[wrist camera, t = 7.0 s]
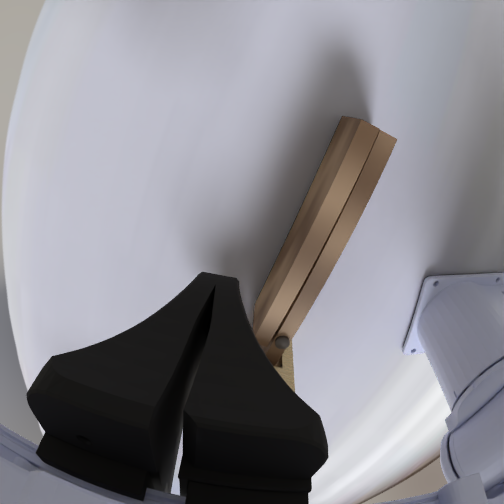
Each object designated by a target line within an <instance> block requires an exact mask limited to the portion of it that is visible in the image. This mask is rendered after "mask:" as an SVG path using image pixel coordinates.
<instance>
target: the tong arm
mask: <svg viewBox="0 0 504 504" xmlns="http://www.w3.org/2000/svg"><path fill="white" fill-rule="evenodd" d="M379 130H380V129H379V128H377V127H375V126H373V125H371V124H369V123H367V122H365V121H364V120H362V119H356V118H351V117H345V116H342V118H341V120H340V122H339V124H338V127H337V129H336V131H335V134H334V136H333V138H332V140H331V142H330V145H329V147H328V149H327V151H326V154H325V156H324V158H323V160H322V163H321V165H320V167H319V169H318V171H317V174H316V176H315V178H314V180H313V182H312V185H311V187H310V189H309V191H308V193H307V195H306V198H305V200H304V202H303V204H302V206H301V208H300V211H299V213H298V215H297V217H296V219H295V221H294V223H293V226H292V228H291V230H290V232H289V234H288V236H287V238H286V240H285V243H284V245H283V247H282V249H281V251H280V253H279V255H278V257H277V259H276V261H275V264H274V266H273V268H272V270H271V272H270V274H269V276H268V278H267V280H266V282H265V284H264V286H263V288H262V291H261V293H260V295H259V297H258V299H257V301H256V303H255V307H254V320H253V332H254V335H255V337H256V339H257V340H258V342H259V344H260V345H262V346H265V347H267V346H268V344H269V342H270V341H271V339H272V337H273V336H274V334H275V332H276V330H277V329H278V327H279V325H280V324H281V322H282V320H283V318H284V317H285V315H286V313H287V311H288V310H289V308H290V306H291V304H292V302H293V301H294V299H295V297H296V295H297V294H298V292H299V290H300V288H301V286H302V285H303V283H304V281H305V279H306V277H307V275H308V274H309V272H310V270H311V268H312V266H313V264H314V262H315V261H316V259H317V257H318V255H319V253H320V251H321V249H322V247H323V245H324V244H325V242H326V240H327V238H328V236H329V234H330V232H331V230H332V228H333V226H334V224H335V222H336V220H337V218H338V216H339V214H340V212H341V210H342V208H343V206H344V204H345V202H346V200H347V198H348V196H349V194H350V192H351V190H352V188H353V186H354V184H355V182H356V180H357V178H358V176H359V174H360V171H361V169H362V167H363V165H364V163H365V161H366V159H367V157H368V154H369V152H370V150H371V148H372V146H373V144H374V141H375V139H376V137H377V135H378V132H379Z"/></svg>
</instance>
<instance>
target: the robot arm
mask: <svg viewBox="0 0 504 504" xmlns="http://www.w3.org/2000/svg"><path fill="white" fill-rule="evenodd" d="M435 281H437V282H436V283H435V284H434V282H435ZM412 349H413V350H412ZM402 352H403V354H404V355H412V354H420V353H426V355H427V358H428V360H429V362H430V364H431V366H432V368H433V370H434V373H435V375H436V377H437V379H438V381H439V384H440V386H441V388H442V391H443V393H444V395H445V398H446V400H447V402H448V405H449V407H450V410H451V412H452V413H451V414H450V415H449V416H448V417H447V418H446V419H445V422H446V424H447V427H448V430H449V431H448V432H447V433H446V434H445V435H444V437H443V439H442V442H441V448H440V462H441V467H442V471H443V474H444V476H445V478H446V480H447V482H448V484H446V485H444V486H443V487H442V488H440V489H439V490H438V491H436V492H432V493H428V494H424V495H420V496H415V497H410V498H405V499H400V500H394V501H388V502H382V503H375V504H504V273H486V274H467V275H445V276H429V277H427V278H426V279H425V280H424V283H423V286H422V290H421V293H420V297H419V300H418V304H417V307H416V310H415V314H414V317H413V320H412V323H411V326H410V329H409V332H408V335H407V338H406V341H405V344H404V346H403V349H402ZM27 401H28V404H29V406H30V408H31V410H32V412H33V414H34V415H35V416H36V418H37V420H38V421H39V423H40V424H41V426H42V428H43V429H44V430H45V434H44V436H43V438H42V440H41V442H40V445H37V444H35V443H33V442H31V441H29V440H28V439H26V438H24V437H22V436H20V435H19V434H17V433H15V432H14V431H12V430H10V429H9V428H7V427H5V426H4V425H2V424H0V504H308V493H309V492H310V491H311V489H312V485H311V477H312V476H313V475H314V474H315V473H316V472H317V471H318V470H319V469H320V468H321V467H322V466H323V465H324V463H325V462H326V460H327V459H328V444H327V439H326V435H325V431H324V427H323V424H322V421H321V418H320V416H319V415H318V414H317V413H316V412H315V411H314V410H313V409H312V408H311V407H310V406H308V405H307V404H306V403H305V402H304V401H303V400H302V399H301V398H300V397H299V396H297V394H296V393H295V392H294V391H293V390H292V389H291V388H290V387H289V386H288V385H287V383H286V382H285V381H284V379H283V378H282V377H281V376H280V374H279V373H278V372H277V370H276V369H275V368H274V367H273V365H272V364H271V362H270V361H269V359H268V358H267V356H266V354H265V353H264V351H263V349H262V348H261V346H260V344H259V342H258V340H257V339H256V337H255V335H254V332H253V330H252V328H251V326H250V323H249V321H248V318H247V315H246V313H245V310H244V307H243V303H242V300H241V296H240V291H239V281H238V280H237V278H233V277H227V276H222V275H217V274H211V273H206V272H201V273H200V274H199V275H198V276H197V277H196V278H195V279H194V280H193V281H192V282H191V283H190V284H189V285H188V286H187V287H186V288H185V289H184V290H183V291H182V292H180V293H179V294H178V295H177V296H176V297H175V298H174V299H172V300H171V301H170V302H169V303H168V304H166V305H165V306H164V307H162V308H161V309H160V310H158V311H157V312H156V313H154V314H153V315H151V316H150V317H149V318H147V319H145V320H144V321H142V322H141V323H139V324H137V325H136V326H134V327H132V328H130V329H128V330H126V331H124V332H122V333H120V334H118V335H116V336H114V337H112V338H110V339H107V340H105V341H102V342H100V343H97V344H94V345H91V346H88V347H85V348H82V349H79V350H75V351H71V352H67V353H64V354H60V355H55V356H52V357H51V358H50V359H49V361H48V362H47V363H46V364H45V366H44V367H43V368H42V370H41V371H40V373H39V375H38V376H37V378H36V379H35V381H34V382H33V384H32V386H31V387H30V389H29V391H28V392H27ZM182 429H183V456H182V460H181V465H180V469H179V474H178V478H179V481H180V496H179V495H175V494H171V487H172V482H173V476H174V470H175V465H176V459H177V454H178V449H179V444H180V439H181V434H182Z"/></svg>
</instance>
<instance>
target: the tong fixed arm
mask: <svg viewBox="0 0 504 504" xmlns="http://www.w3.org/2000/svg"><path fill="white" fill-rule="evenodd" d="M396 141H397V139H396V138H394V137H392V136H390V135H389V134H387V133H385V132H383V131H381V130H379V132H378V135H377V137H376V139H375V141H374V144H373V146H372V148H371V150H370V152H369V154H368V157H367V159H366V161H365V163H364V165H363V167H362V169H361V171H360V174H359V176H358V178H357V180H356V182H355V184H354V186H353V188H352V190H351V192H350V194H349V196H348V198H347V200H346V202H345V204H344V206H343V208H342V210H341V212H340V214H339V216H338V218H337V220H336V222H335V224H334V226H333V228H332V230H331V232H330V234H329V236H328V238H327V240H326V242H325V244H324V245H323V247H322V249H321V251H320V253H319V255H318V257H317V259H316V261H315V262H314V264H313V266H312V268H311V270H310V272H309V274H308V275H307V277H306V279H305V281H304V283H303V285H302V286H301V288H300V290H299V292H298V294H297V295H296V297H295V299H294V301H293V302H292V304H291V306H290V308H289V310H288V311H287V313H286V315H285V317H284V318H283V320H282V322H281V324H280V325H279V327H278V329H277V330H276V332H275V334H274V336H273V337H272V339H271V341H270V342H269V344H268V346H267V347H265V346H262V345H260V346H261V348H262V349H263V351H264V353H265V354H266V356H267V358H268V359H269V361H270V362H271V364H272V365H273V366H275V365H276V364H277V362H278V360H279V359H280V357H281V356H282V354H283V353H284V351H285V349H286V348H288V347H289V345H290V341H291V340H292V338H293V337H294V335H295V333H296V332H297V330H298V328H299V327H300V325H301V323H302V322H303V320H304V318H305V317H306V315H307V313H308V312H309V310H310V308H311V307H312V305H313V303H314V301H315V300H316V298H317V296H318V295H319V293H320V291H321V289H322V288H323V286H324V284H325V282H326V281H327V279H328V277H329V275H330V273H331V272H332V270H333V268H334V266H335V264H336V263H337V261H338V259H339V257H340V255H341V253H342V252H343V250H344V248H345V246H346V244H347V242H348V240H349V238H350V236H351V235H352V233H353V231H354V229H355V227H356V225H357V223H358V221H359V219H360V217H361V215H362V213H363V211H364V209H365V207H366V205H367V203H368V201H369V199H370V197H371V195H372V193H373V191H374V189H375V187H376V185H377V183H378V180H379V178H380V176H381V174H382V172H383V170H384V168H385V166H386V163H387V161H388V159H389V157H390V155H391V152H392V150H393V148H394V146H395V143H396Z"/></svg>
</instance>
